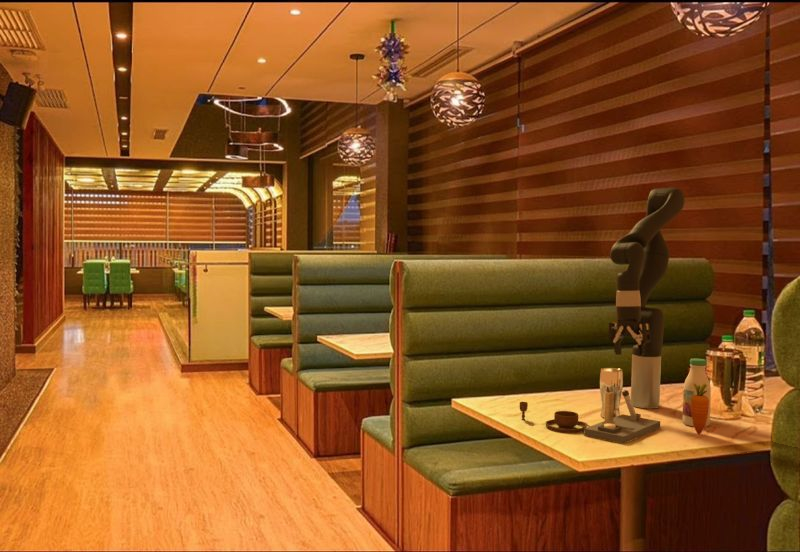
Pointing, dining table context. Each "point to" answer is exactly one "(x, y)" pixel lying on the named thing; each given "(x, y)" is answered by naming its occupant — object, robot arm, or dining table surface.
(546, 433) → the dining table surface
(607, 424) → the push button
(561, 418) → the place setting
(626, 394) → the toggle lever
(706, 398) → the carrot
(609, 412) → the block
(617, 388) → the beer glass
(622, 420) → the switch panel
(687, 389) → the milk bottle
